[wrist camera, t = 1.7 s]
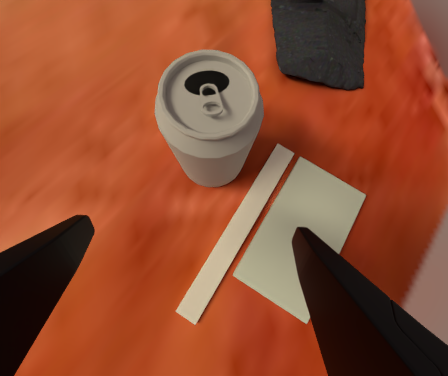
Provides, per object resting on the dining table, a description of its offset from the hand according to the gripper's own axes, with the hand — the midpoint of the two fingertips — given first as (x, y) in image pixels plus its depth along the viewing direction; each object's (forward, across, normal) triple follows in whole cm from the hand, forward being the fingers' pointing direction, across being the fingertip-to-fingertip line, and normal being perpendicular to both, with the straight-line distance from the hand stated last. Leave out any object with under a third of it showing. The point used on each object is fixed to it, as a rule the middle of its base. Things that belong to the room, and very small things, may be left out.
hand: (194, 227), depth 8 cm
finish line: (+10, -4, +9) cm, 14 cm away
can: (+15, 0, +4) cm, 16 cm away
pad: (+9, -11, +10) cm, 17 cm away
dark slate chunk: (+31, -14, -11) cm, 36 cm away
